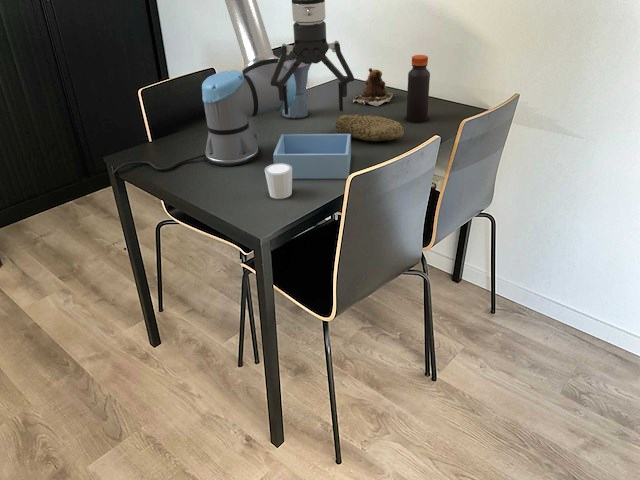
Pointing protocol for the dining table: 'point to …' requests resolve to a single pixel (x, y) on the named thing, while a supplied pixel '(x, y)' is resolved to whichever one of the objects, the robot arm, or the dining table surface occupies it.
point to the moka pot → (298, 90)
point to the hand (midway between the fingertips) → (313, 111)
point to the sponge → (369, 127)
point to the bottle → (418, 89)
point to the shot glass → (279, 180)
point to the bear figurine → (374, 90)
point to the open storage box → (315, 155)
